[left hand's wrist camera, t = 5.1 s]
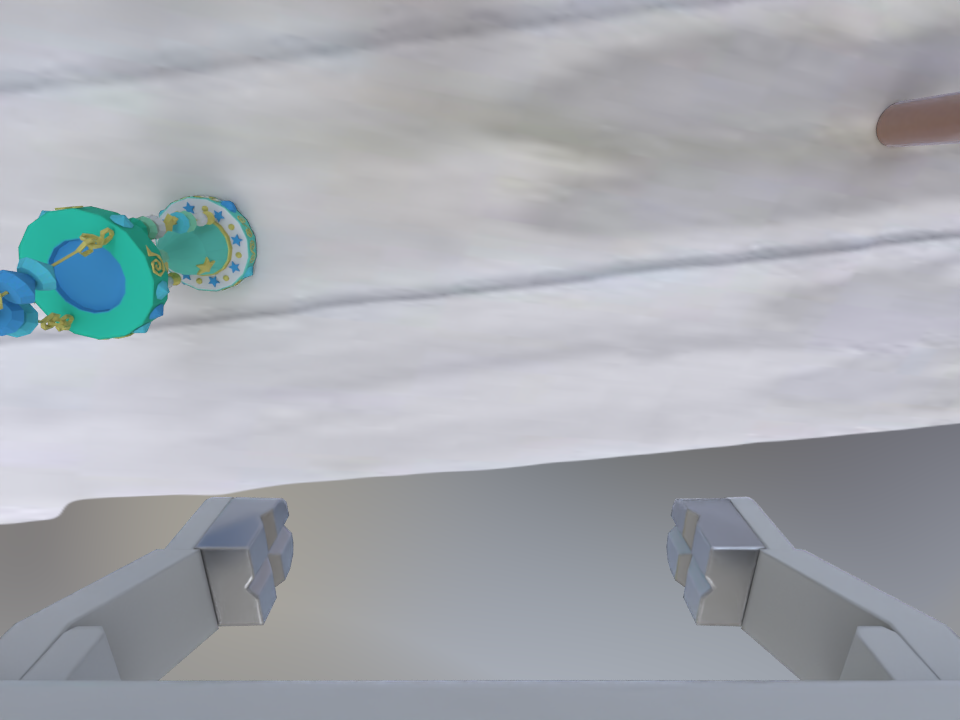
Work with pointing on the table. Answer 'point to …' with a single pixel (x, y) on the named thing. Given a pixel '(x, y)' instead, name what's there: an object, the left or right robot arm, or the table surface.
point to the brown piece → (921, 121)
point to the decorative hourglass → (121, 266)
